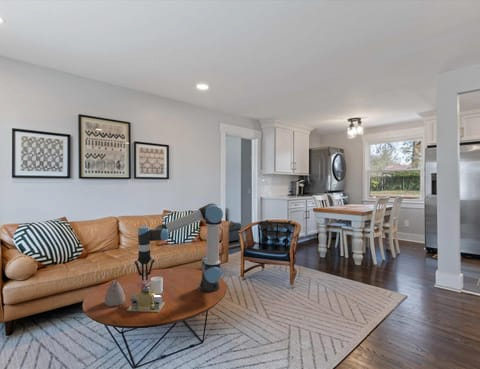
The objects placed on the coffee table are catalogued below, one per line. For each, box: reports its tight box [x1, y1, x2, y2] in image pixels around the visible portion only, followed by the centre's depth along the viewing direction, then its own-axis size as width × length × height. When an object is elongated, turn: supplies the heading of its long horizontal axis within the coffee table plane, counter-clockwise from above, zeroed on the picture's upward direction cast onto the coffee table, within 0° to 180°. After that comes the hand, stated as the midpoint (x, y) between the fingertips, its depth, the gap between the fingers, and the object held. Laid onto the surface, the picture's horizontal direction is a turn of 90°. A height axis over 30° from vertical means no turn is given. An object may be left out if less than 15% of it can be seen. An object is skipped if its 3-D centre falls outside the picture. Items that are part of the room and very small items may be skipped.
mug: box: [146, 276, 164, 295], centre depth 199 cm, size 12×8×10 cm
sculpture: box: [104, 279, 126, 308], centre depth 184 cm, size 13×12×15 cm
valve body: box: [126, 288, 166, 313], centre depth 178 cm, size 20×12×10 cm, turn 87°
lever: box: [136, 281, 151, 293], centre depth 182 cm, size 15×4×3 cm, turn 42°
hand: (144, 284), depth 186 cm, fingers closed
